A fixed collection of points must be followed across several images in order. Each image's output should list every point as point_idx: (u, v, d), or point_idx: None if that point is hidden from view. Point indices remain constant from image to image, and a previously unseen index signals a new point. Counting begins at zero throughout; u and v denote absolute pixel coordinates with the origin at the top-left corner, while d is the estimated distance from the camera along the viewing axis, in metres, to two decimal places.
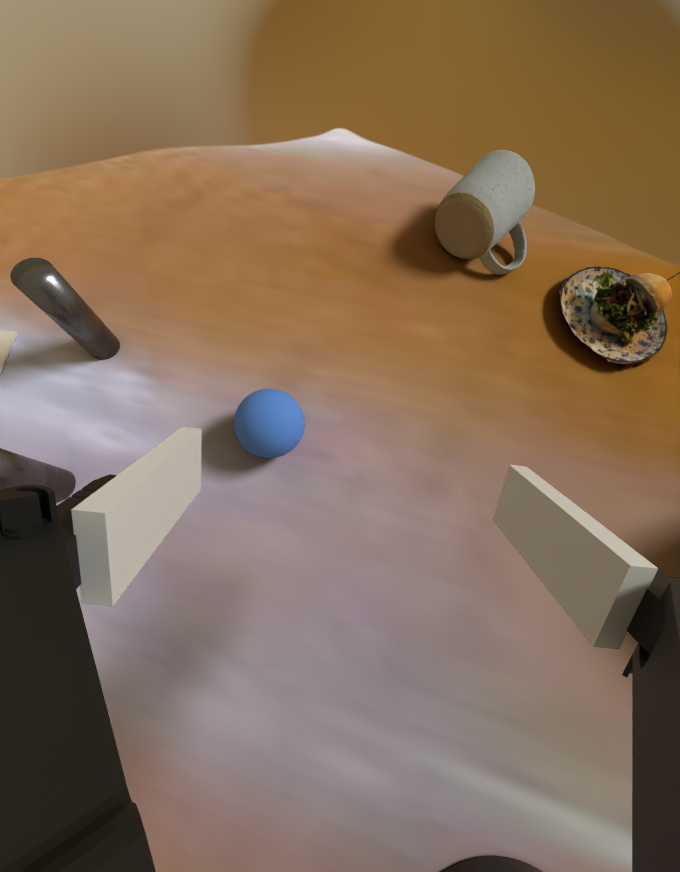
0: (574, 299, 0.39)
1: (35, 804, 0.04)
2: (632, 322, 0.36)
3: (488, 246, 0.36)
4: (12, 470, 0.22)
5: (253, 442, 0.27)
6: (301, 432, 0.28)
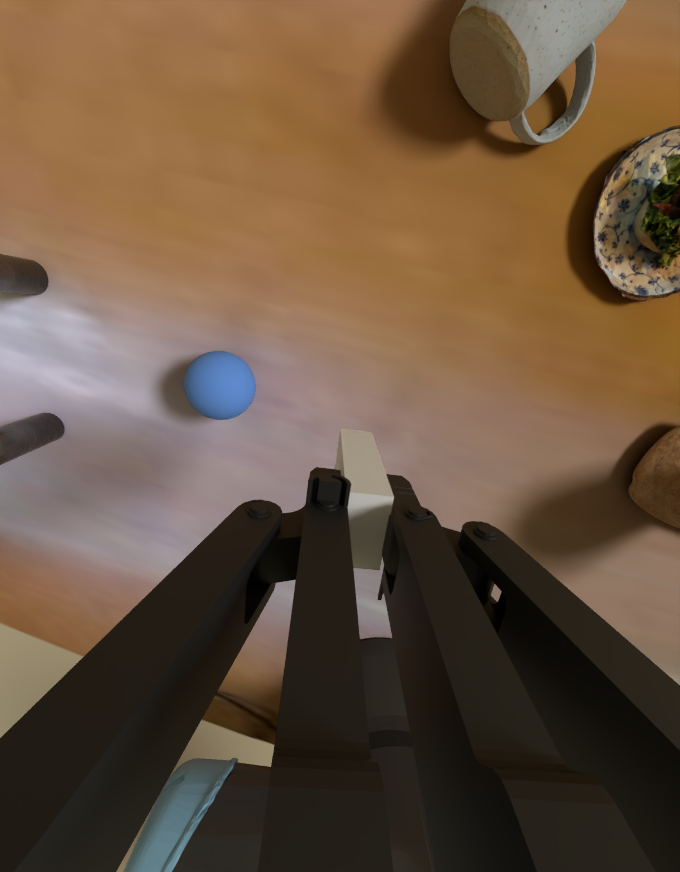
0: (625, 187, 0.28)
1: (313, 708, 0.05)
2: (679, 244, 0.27)
3: (518, 113, 0.24)
4: (3, 453, 0.27)
5: (204, 414, 0.28)
6: (250, 399, 0.29)
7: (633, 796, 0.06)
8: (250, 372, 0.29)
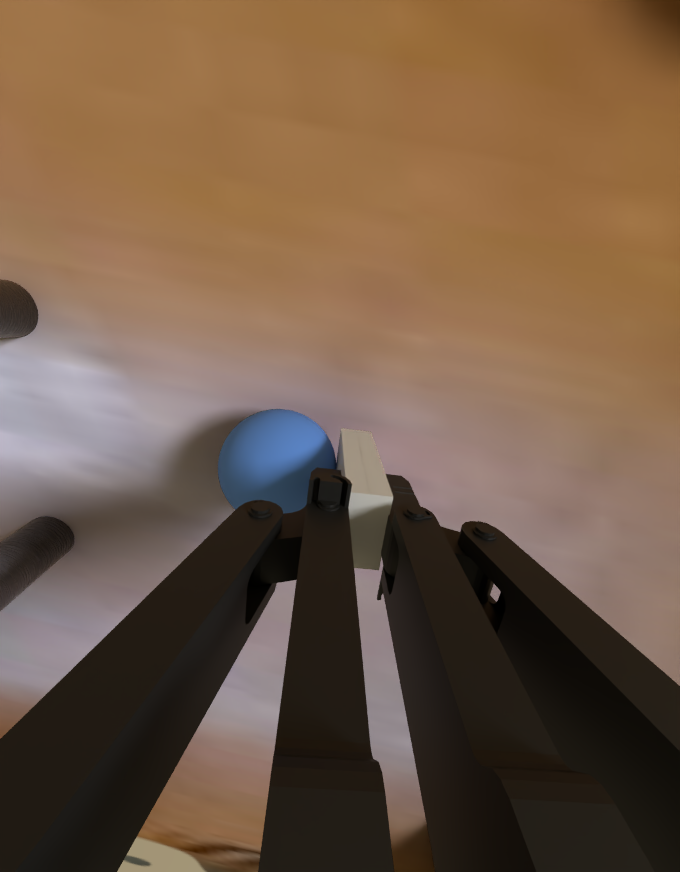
0: None
1: (313, 708, 0.05)
2: None
3: None
4: None
5: None
6: None
7: (632, 796, 0.06)
8: (318, 450, 0.16)
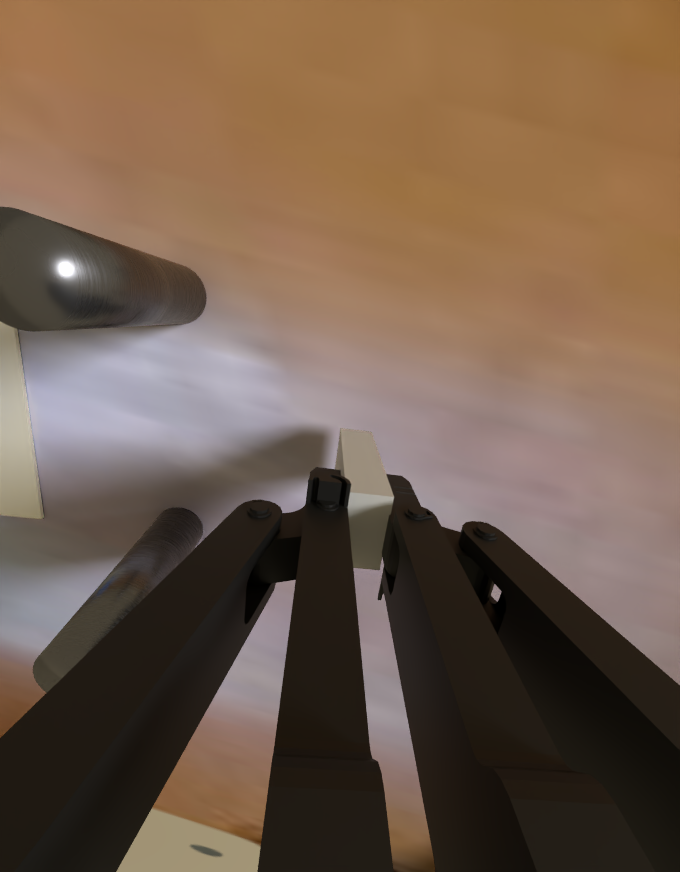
0: None
1: (313, 708, 0.05)
2: None
3: None
4: None
5: None
6: None
7: (633, 796, 0.06)
8: None
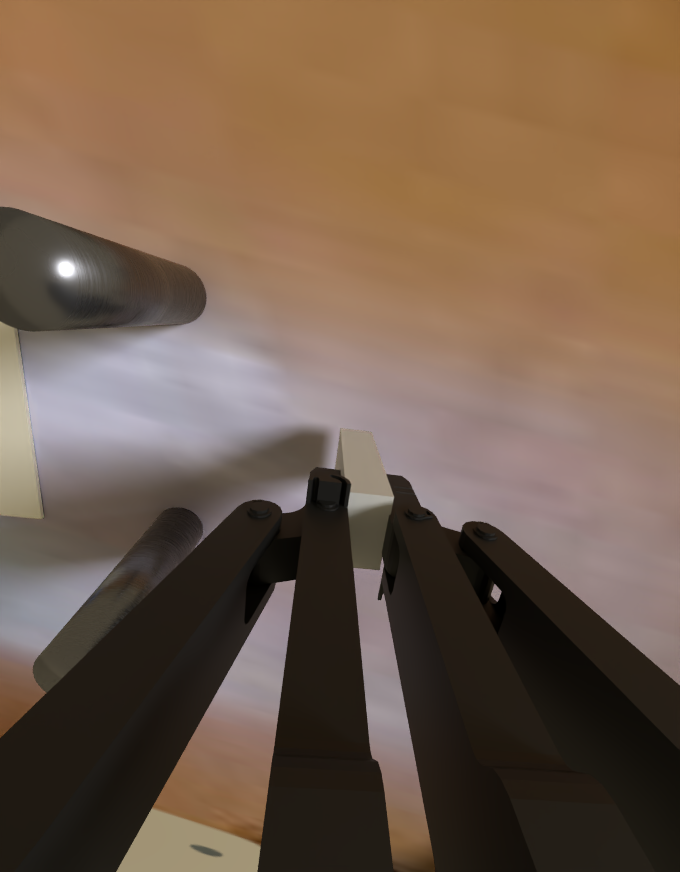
0: None
1: (313, 708, 0.05)
2: None
3: None
4: None
5: None
6: None
7: (633, 796, 0.06)
8: None
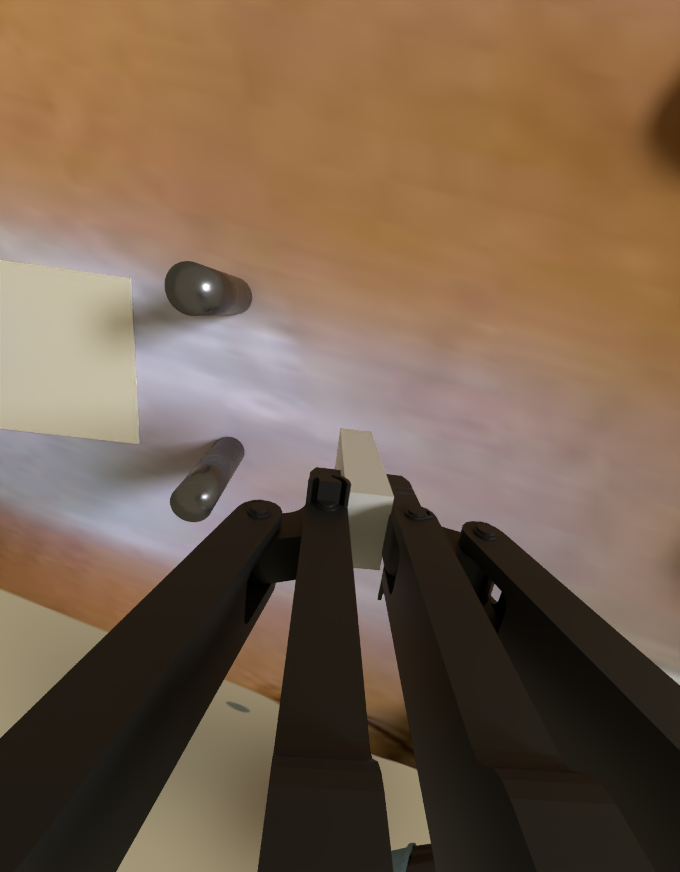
0: None
1: (313, 708, 0.05)
2: None
3: None
4: (223, 487, 0.25)
5: None
6: None
7: (633, 796, 0.06)
8: None
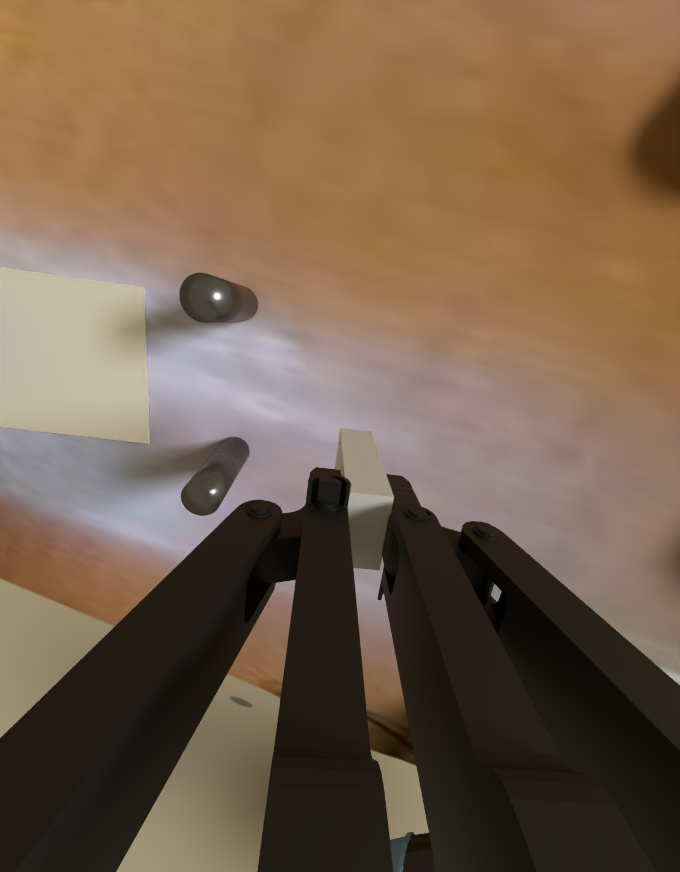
0: None
1: (313, 708, 0.05)
2: None
3: None
4: (230, 483, 0.27)
5: None
6: None
7: (633, 796, 0.06)
8: None
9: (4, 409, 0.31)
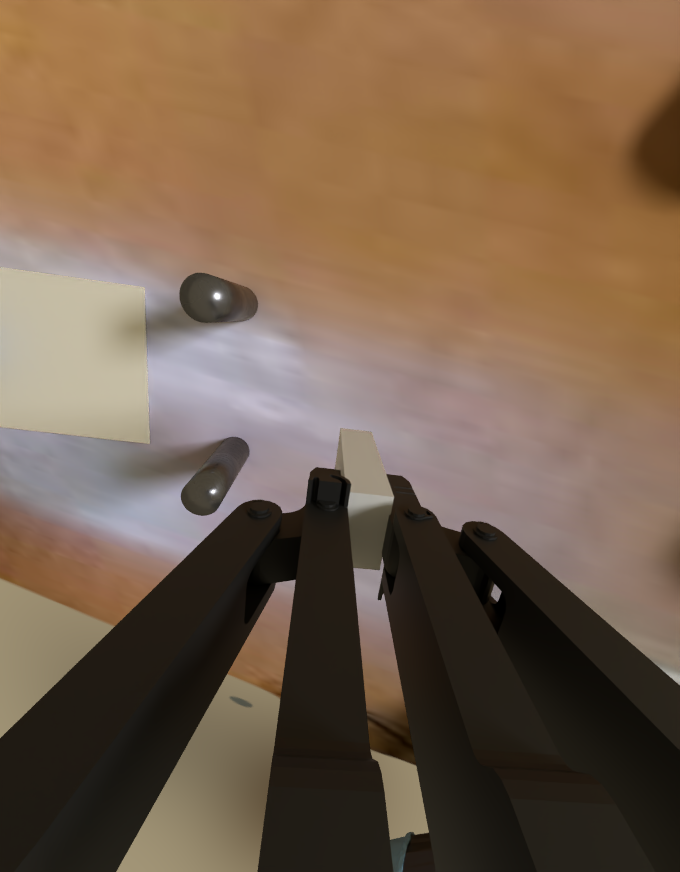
0: None
1: (313, 708, 0.05)
2: None
3: None
4: (230, 483, 0.27)
5: None
6: None
7: (633, 796, 0.06)
8: None
9: (4, 409, 0.31)
